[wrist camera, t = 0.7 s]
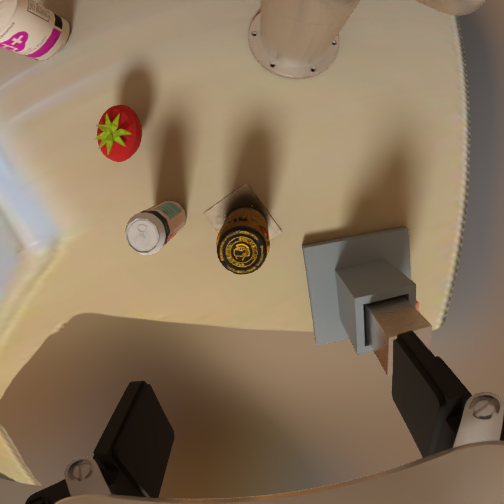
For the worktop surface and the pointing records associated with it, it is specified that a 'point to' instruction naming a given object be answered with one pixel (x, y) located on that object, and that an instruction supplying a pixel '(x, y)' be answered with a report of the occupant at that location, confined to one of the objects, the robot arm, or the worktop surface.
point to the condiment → (242, 230)
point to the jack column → (392, 327)
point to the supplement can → (31, 29)
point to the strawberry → (119, 133)
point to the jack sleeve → (355, 281)
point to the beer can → (154, 227)
